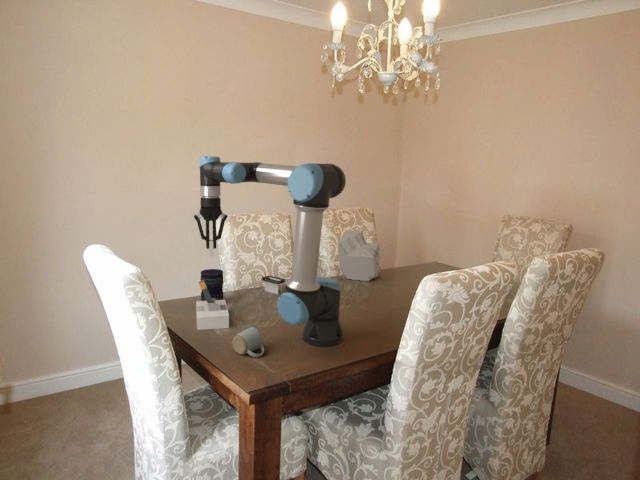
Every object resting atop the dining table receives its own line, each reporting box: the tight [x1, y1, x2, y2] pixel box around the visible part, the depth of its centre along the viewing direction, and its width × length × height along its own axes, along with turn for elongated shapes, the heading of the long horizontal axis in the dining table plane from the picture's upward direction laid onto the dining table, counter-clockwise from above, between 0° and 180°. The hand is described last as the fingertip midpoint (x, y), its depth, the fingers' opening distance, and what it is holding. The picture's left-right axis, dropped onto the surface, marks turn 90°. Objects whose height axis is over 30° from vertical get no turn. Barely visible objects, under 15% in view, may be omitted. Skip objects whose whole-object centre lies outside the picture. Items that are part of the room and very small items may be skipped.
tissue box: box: [337, 230, 382, 282], centre depth 256 cm, size 20×16×25 cm
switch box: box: [195, 298, 230, 331], centre depth 188 cm, size 20×12×8 cm, turn 15°
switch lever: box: [198, 280, 213, 303], centre depth 186 cm, size 4×2×12 cm, turn 15°
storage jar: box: [200, 268, 224, 301], centre depth 206 cm, size 10×10×15 cm
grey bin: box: [261, 271, 287, 295], centre depth 228 cm, size 20×25×10 cm
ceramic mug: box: [231, 326, 265, 358], centre depth 159 cm, size 11×8×8 cm
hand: (211, 256), depth 183 cm, fingers closed
